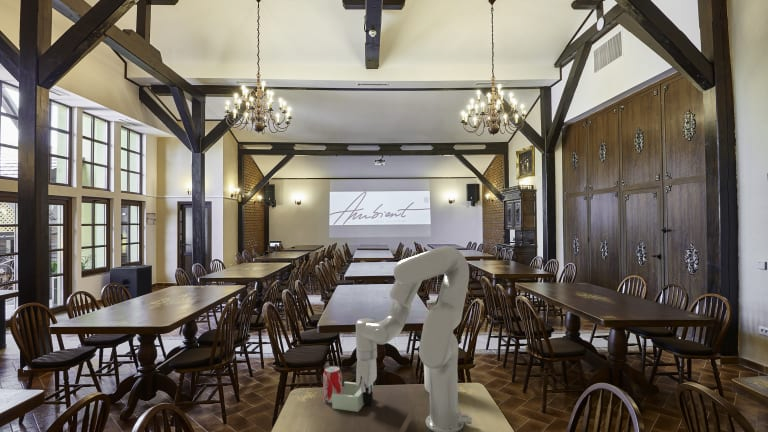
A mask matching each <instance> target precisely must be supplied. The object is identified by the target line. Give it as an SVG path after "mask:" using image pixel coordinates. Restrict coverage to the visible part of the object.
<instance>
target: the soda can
mask: <svg viewBox="0 0 768 432" xmlns="http://www.w3.org/2000/svg"><path fill="white" fill-rule="evenodd" d="M342 376H343V375H342V371H341V369H340V366H337V365H330V366H326V367H325V368H324V371H323V374H322V384H323V391H322V392H323V399H324V400H325V401H326V402H328V403H332V394H333V393H336V394H343V377H342Z"/></svg>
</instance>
